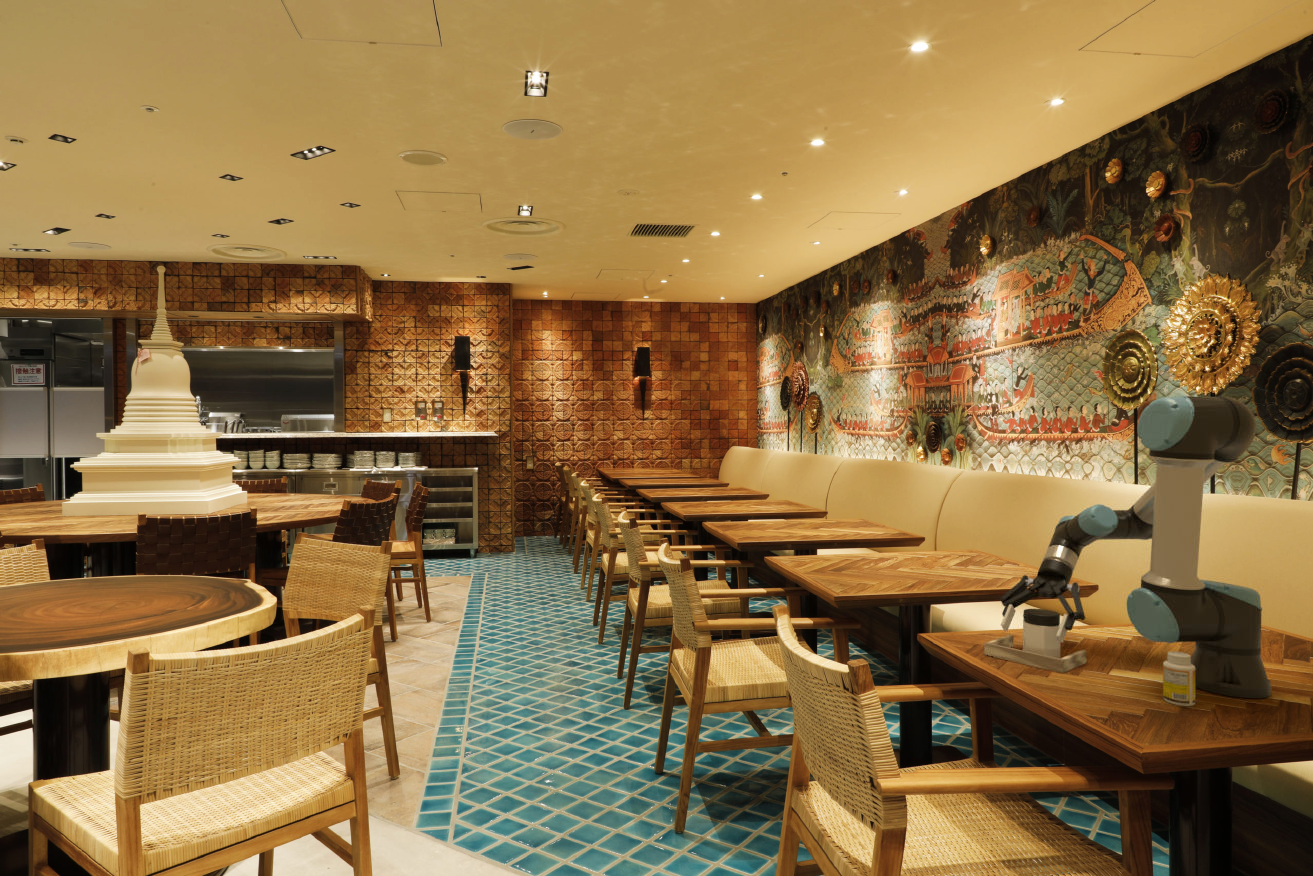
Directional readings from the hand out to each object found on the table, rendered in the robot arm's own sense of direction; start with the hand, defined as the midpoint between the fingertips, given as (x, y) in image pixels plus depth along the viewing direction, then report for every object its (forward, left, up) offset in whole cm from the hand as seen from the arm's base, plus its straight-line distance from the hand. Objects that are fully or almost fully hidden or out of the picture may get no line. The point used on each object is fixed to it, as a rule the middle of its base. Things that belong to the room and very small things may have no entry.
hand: (1030, 633), depth 185 cm
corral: (+1, -2, -7) cm, 7 cm away
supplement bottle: (-32, -11, -7) cm, 35 cm away
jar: (0, -3, -7) cm, 7 cm away
